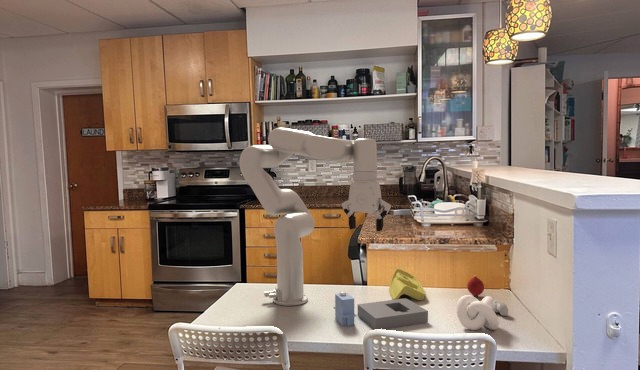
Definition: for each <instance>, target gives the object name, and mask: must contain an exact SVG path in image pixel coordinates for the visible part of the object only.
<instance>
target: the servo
mask: <svg viewBox="0 0 640 370" xmlns="http://www.w3.org/2000/svg"><path fill="white" fill-rule="evenodd" d="M334 305H335V306H333V309H334V311H335V312H334V315H335V317H334V318H335V319H334V320H336V321H337V322H338V324H340V326H341V327H345V326H347V327H350V326H352V325H355V317H357V316H358V314H357V313H355V298H354V297H353V296H352V295H350V294H349V293H347V291H339V293H335V294H334Z"/></svg>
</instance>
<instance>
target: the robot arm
mask: <svg viewBox="0 0 640 370" xmlns="http://www.w3.org/2000/svg"><path fill="white" fill-rule="evenodd" d="M267 142H268V145H257V144H253V145H249V146H247V147H245V148H244V149H243V150H242V151H241V153H240V156H239V169H240V172H241V175H242V176H243V178H244V180H245V181H246V183H247V184H248V185H249V187H250V188H251V190H252V191H253V193H254V195H255V196H256V198H257V199H258V201H259V202H260V204H261V206H262V207H263V209H264V211H265V212H266V213H267V214H268V215H270V216H279V215H281V216H279V217H278V218H277V219H276V221H275V222H274V225H273V232H274V237H275V244H276V275H277V276H276V284H277V286H275V288H274V289H273V290H270V291H269V290H267V291H266V290H265V291H264V292H263V293H264V294H263V295H264V297H265V298H267V297H268V298H269V299H272V302H273V303H274V304H276V305H279V306H282V307H283V306H286V307H290V306H291V307H292V306H293V307H294V306H300V305H303V304H305V303H307V302H308V300H309V299H308V298H309V296H308V295H307V294H306V293H304V249H303V244H302V242H301V238H305V237H307V236H309V235H310V234H312V233H313V231H314V229H315V220H314V217H313V215H312V214H311V212H310V211H309V209H308V208H307V205H305V203H304V201H303V200H302V198H301V196H300V195H299V194H298V193H297V192H296V191H294V190H293V189H291V188H280V187H279V186H278V185H277V183H276V182H275V180H274V179H273V177H272V175H270V174H269V173H268V172H267V171H265V170H264V169H272V168H276V167H278V166H280V165H281V164H283V163H284V162H285V161H287V160H288V159H290V157H291V156H293V155H299V156H302V157H303V156H304V157H305V158H313V159H317V160H322V161H328V162H333V163H352V162H353V165H352V166H353V171H352V173H350V175H349V176H350V178H352V179H353V181H351V182H350V186H349V192H348V199H347V200H346V201H343V202H342V203H341V207H342V209H343V212H344V213H345V214H346V217H348V226H349V227H348V228H349V230H353V229H356V228H357V225H356V223H357V220H356V218H357V217H356V216H355V215H356V213H362V214H363V213H364V214H366V213H367V214H368V213H369V214H374V215H375V216H376V217H377V218H376V219H375V222H376V225H375V228H376V232H381V231H383V229H384V219H385V217H386V216H387V215H388V214H389V213H390V212H389V211H390V210H391V207H392V205H391V204H390V203H388V202H387V201H385V200H383V199H382V191H381V186H380V181H379V180H378V167H377V166H378V165H377V164H378V159H377V158H378V157H377V154H378V153H377V151H378V150H377V142H376V140H375V139H374V138H357V139H355V140H353V139H352V140H351V139H344V138H336V137H329V136H323V135H318V134H317V135H316V134H314V133H312V132H311V131H306V130H305V131H304V130H298V129H292V128H286V127H276V128H274V129H272V130H271V131H270V132H269V133H268V136H267ZM382 206H383V207H384V210H382Z"/></svg>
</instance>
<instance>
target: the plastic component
mask: <svg viewBox="0 0 640 370" xmlns="http://www.w3.org/2000/svg"><path fill="white" fill-rule="evenodd" d="M389 293H390V296H391V300H396V299H401V296H403V295H406V296H409V297H410V298H412V299H415V300H417V301H419V300H422V301H423V300H424V298H425V296H426V295H427V292H426V291H425V289H424V288H423V286H422V284H421V282H420V280H419V279H418V278H417V277H416V276H414V274H413V275H412V274H411V273H409V272H408V271H406V270H404V269H401V268H396V269H395V270H394V272H393V274H392V277H391V280H390V282H389Z"/></svg>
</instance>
